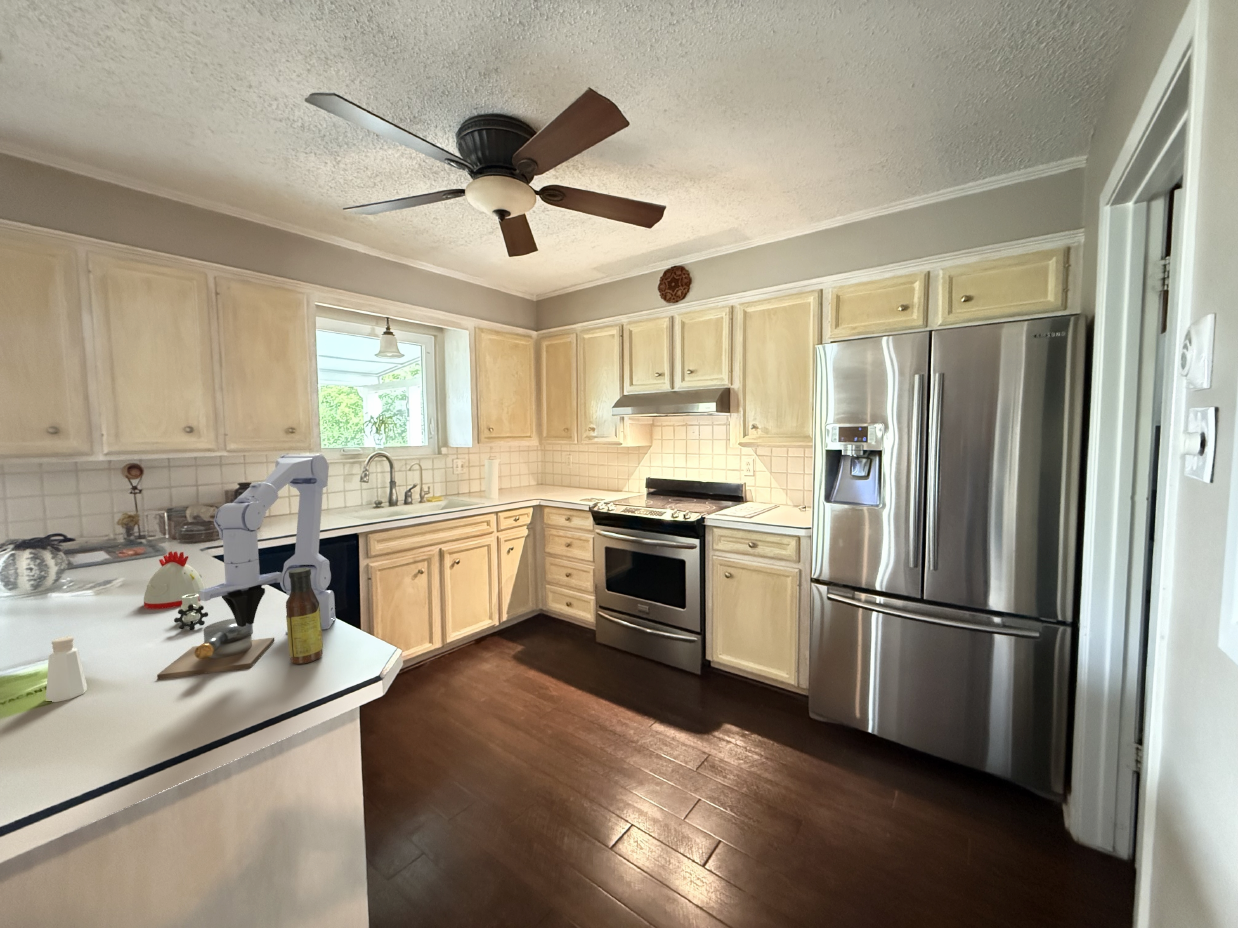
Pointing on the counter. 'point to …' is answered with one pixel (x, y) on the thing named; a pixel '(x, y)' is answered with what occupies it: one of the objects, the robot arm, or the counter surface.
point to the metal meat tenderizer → (221, 636)
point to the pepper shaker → (65, 671)
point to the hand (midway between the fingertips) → (245, 624)
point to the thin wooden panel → (218, 659)
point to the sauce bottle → (303, 619)
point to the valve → (190, 612)
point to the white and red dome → (172, 583)
